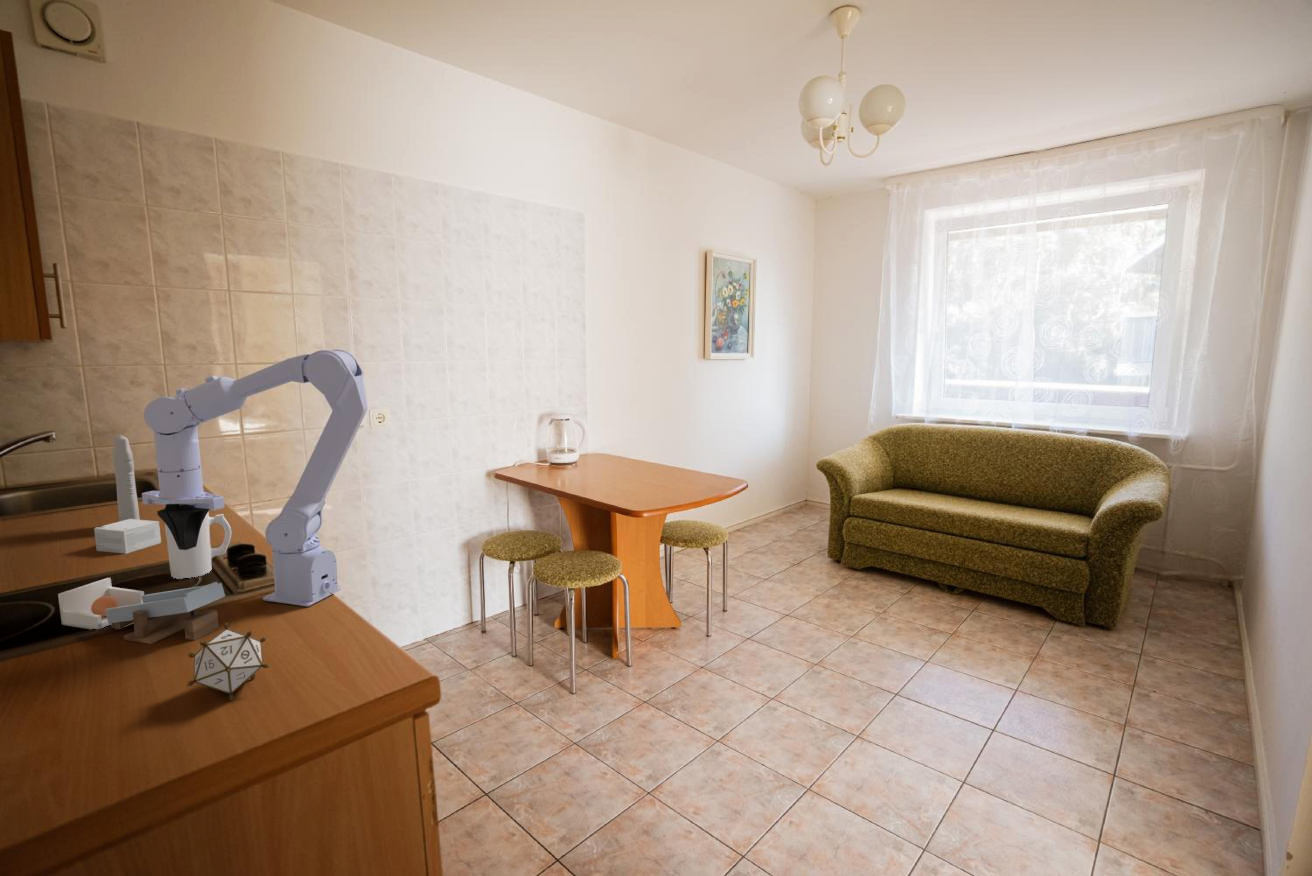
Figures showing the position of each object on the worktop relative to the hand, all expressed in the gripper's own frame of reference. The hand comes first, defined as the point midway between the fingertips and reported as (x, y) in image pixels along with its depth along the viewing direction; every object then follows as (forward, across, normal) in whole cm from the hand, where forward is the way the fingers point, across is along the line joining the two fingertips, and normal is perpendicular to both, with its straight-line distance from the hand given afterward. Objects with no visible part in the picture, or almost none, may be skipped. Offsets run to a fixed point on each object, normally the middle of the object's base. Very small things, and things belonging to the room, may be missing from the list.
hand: (187, 548), depth 102 cm
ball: (+9, -6, -8) cm, 14 cm away
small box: (+10, -39, +19) cm, 44 cm away
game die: (+10, +29, -20) cm, 37 cm away
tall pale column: (+10, -52, +29) cm, 60 cm away
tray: (+10, -7, -8) cm, 15 cm away
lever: (+7, +6, -7) cm, 11 cm away
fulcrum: (+10, +6, -9) cm, 14 cm away
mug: (+10, -11, +12) cm, 19 cm away
